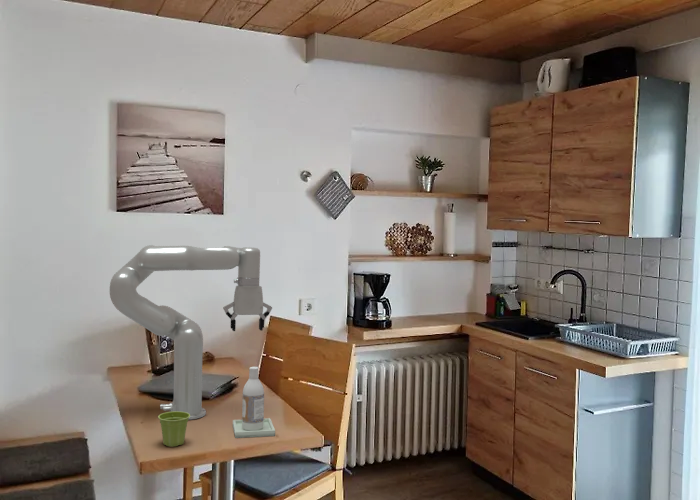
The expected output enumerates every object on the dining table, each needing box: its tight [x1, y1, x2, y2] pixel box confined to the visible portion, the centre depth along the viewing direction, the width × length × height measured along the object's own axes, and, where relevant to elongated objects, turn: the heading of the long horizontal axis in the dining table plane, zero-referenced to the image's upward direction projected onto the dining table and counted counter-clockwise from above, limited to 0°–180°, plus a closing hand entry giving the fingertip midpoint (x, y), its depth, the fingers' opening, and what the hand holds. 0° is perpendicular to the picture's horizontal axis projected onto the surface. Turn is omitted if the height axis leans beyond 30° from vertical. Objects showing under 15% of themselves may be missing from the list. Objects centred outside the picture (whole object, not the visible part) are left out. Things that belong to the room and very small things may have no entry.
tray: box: [232, 417, 276, 439], centre depth 211 cm, size 13×13×2 cm
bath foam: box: [241, 366, 265, 431], centre depth 211 cm, size 7×7×20 cm
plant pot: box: [157, 411, 190, 448], centre depth 197 cm, size 9×9×9 cm
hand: (247, 330), depth 229 cm, fingers open, 9 cm apart
